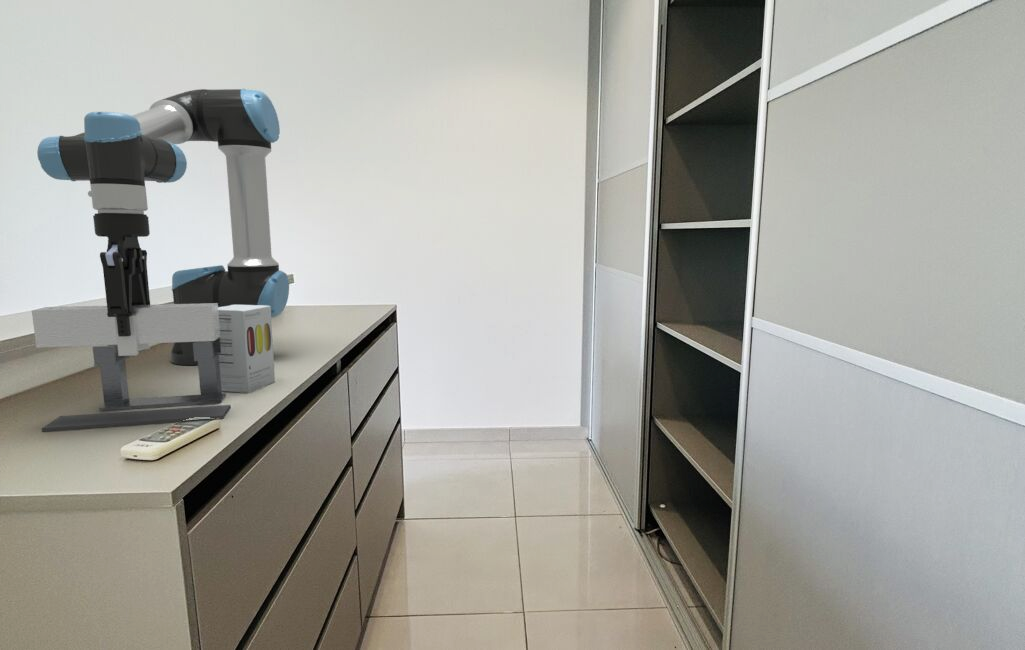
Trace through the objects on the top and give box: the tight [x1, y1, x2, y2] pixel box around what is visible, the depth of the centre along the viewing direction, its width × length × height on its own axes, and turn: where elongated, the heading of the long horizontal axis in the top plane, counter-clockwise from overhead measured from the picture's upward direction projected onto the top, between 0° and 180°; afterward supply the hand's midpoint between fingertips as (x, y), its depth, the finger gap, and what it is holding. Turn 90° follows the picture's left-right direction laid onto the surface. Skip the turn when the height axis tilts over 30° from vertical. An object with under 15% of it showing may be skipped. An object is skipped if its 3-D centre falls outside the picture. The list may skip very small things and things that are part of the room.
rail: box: [31, 303, 220, 349], centre depth 98 cm, size 4×26×6 cm, turn 105°
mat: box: [41, 404, 232, 433], centre depth 101 cm, size 6×27×1 cm, turn 105°
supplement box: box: [218, 305, 276, 394], centre depth 121 cm, size 10×9×17 cm
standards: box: [92, 337, 227, 412], centre depth 109 cm, size 7×20×12 cm, turn 105°
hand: (134, 351), depth 99 cm, fingers closed on rail, 4 cm apart
